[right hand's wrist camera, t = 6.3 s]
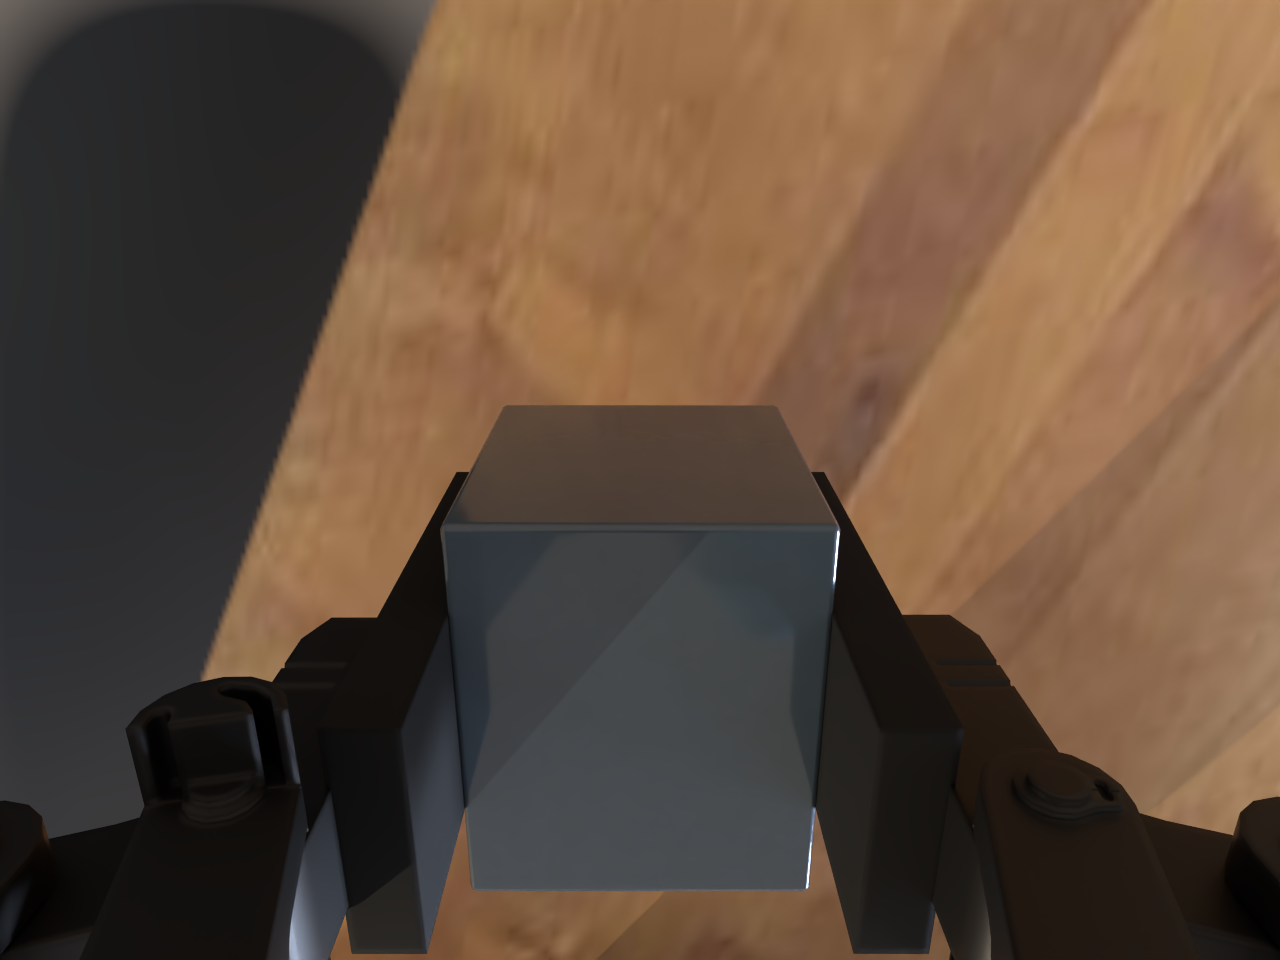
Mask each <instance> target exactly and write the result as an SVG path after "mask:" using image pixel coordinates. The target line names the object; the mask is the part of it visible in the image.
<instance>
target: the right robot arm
mask: <svg viewBox="0 0 1280 960" xmlns="http://www.w3.org/2000/svg"><path fill="white" fill-rule="evenodd" d="M811 473H812V475H813V477H814V479H815V480H816V482H817V484H818V486H819V488H820V490H821V492H822V494H823V496H824V498H825V500H826V502H827V503H828V505H829V507H830V509H831V511H832V513H833V515H834V517H835V519H836V521H837V523H838V525H839V527H840V539H839V551H838V562H837V573H836V585H835V596H834V608H833V612H832V623H831V635H830V646H829V658H828V669H827V681H826V692H825V704H824V715H823V727H822V738H821V750H820V761H819V773H818V784H817V796H816V811H817V815H818V819H819V822H820V826H821V830H822V834H823V838H824V842H825V845H826V849H827V853H828V857H829V861H830V865H831V868H832V872H833V876H834V880H835V884H836V888H837V892H838V895H839V899H840V903H841V907H842V911H843V915H844V918H845V922H846V926H847V930H848V934H849V938H850V941H851V945H852V949H853V953H854V954H929V949H930V943H931V937H932V930H933V924H934V918H935V911H936V913H937V916H938V918H939V921H940V924H941V926H942V929H943V932H944V934H945V937H946V939H947V942H948V945H949V947H950V950H951V952H950V958H949V960H1280V797H1273V798H1268V799H1262V800H1257V801H1253V802H1252V803H1251V804H1249V805H1248V806H1247V807H1246V808H1245V809H1244V810H1243V811H1242V812H1240V815H1239V818H1238V821H1237V825H1236V828H1235V831H1234V835H1229V834H1224V833H1220V832H1215V831H1210V830H1206V829H1201V828H1197V827H1192V826H1187V825H1183V824H1178V823H1174V822H1169V821H1165V820H1161V819H1158V818H1154V817H1151V816H1147V815H1144V814H1140V813H1139V812H1138V809H1137V807H1136V805H1135V803H1134V802H1133V800H1132V799H1131V798H1130V796H1129V795H1128V793H1127V792H1126V791H1125V789H1124V788H1123V786H1122V785H1121V784H1119V783H1118V782H1117V781H1115V780H1114V779H1113V778H1111V777H1110V776H1109V775H1108V774H1106V773H1105V772H1104V771H1102V770H1101V769H1100V768H1098V767H1096V766H1094V765H1091V764H1089V763H1087V762H1085V761H1083V760H1080V759H1078V758H1076V757H1074V756H1072V755H1068V754H1064V753H1060V752H1058V750H1057V749H1056V747H1055V746H1054V744H1053V743H1052V742H1051V740H1050V739H1049V737H1048V736H1047V734H1046V733H1045V731H1044V730H1043V728H1042V727H1041V725H1040V724H1039V722H1038V721H1037V719H1036V718H1035V717H1034V715H1033V714H1032V712H1031V711H1030V709H1029V708H1028V706H1027V705H1026V703H1025V702H1024V700H1023V699H1022V697H1021V696H1020V694H1019V693H1018V692H1017V690H1016V689H1015V687H1014V686H1011V685H1010V680H1009V678H1008V677H1007V675H1006V674H1005V672H1004V671H1003V669H1002V668H1001V667H1000V665H997V664H996V659H995V658H994V656H993V655H992V653H991V652H990V650H989V649H988V647H987V646H986V644H985V643H984V641H983V640H982V639H981V637H980V636H979V635H978V634H976V633H975V632H973V631H972V630H970V629H969V628H968V627H966V626H965V625H963V624H962V623H960V622H959V621H957V620H956V619H955V618H953V617H952V616H950V615H902V614H901V612H900V610H899V608H898V607H897V605H896V603H895V601H894V599H893V597H892V596H891V594H890V592H889V590H888V588H887V586H886V585H885V583H884V581H883V579H882V577H881V575H880V574H879V572H878V570H877V568H876V566H875V565H874V563H873V561H872V559H871V557H870V555H869V554H868V552H867V550H866V548H865V546H864V544H863V543H862V541H861V539H860V537H859V535H858V533H857V532H856V530H855V528H854V526H853V524H852V522H851V521H850V519H849V517H848V515H847V513H846V511H845V510H844V508H843V506H842V504H841V502H840V501H839V499H838V497H837V495H836V493H835V491H834V490H833V488H832V486H831V484H830V482H829V480H828V479H827V477H826V475H825V473H824V472H811ZM468 474H469V472H456V474H455V476H454V478H453V480H452V482H451V483H450V485H449V487H448V489H447V491H446V493H445V494H444V496H443V498H442V500H441V502H440V503H439V505H438V507H437V509H436V511H435V513H434V514H433V516H432V518H431V520H430V522H429V524H428V525H427V527H426V529H425V531H424V533H423V535H422V536H421V538H420V540H419V542H418V544H417V546H416V547H415V549H414V551H413V553H412V555H411V557H410V558H409V560H408V562H407V564H406V566H405V568H404V569H403V571H402V573H401V575H400V577H399V578H398V580H397V582H396V584H395V586H394V588H393V589H392V591H391V593H390V595H389V597H388V599H387V600H386V602H385V604H384V606H383V608H382V610H381V611H380V613H379V615H378V617H377V618H331V619H329V620H328V621H326V622H325V623H323V624H322V625H320V626H319V627H318V628H316V629H315V630H313V631H312V632H310V633H309V634H308V635H306V636H305V637H303V638H302V639H301V640H300V642H299V643H298V645H297V646H296V648H295V649H294V651H293V652H292V653H291V655H290V656H289V658H288V659H287V661H286V662H285V668H281V670H280V671H279V673H278V674H277V676H276V677H275V679H274V680H273V682H270V681H266V680H262V679H258V678H254V677H222V678H217V679H212V680H207V681H203V682H198V683H193V684H191V685H188V686H186V687H183V688H181V689H178V690H176V691H173V692H171V693H169V694H166V695H164V696H162V697H161V698H159V699H158V700H156V701H155V702H153V703H152V704H150V705H149V706H147V707H146V708H144V709H143V710H141V711H140V712H139V713H138V714H137V716H136V717H135V718H134V719H133V720H132V722H131V723H130V724H129V725H128V727H127V728H126V733H127V737H128V741H129V745H130V749H131V753H132V757H133V761H134V765H135V769H136V773H137V777H138V781H139V785H140V789H141V793H142V797H143V801H144V805H145V806H144V809H143V811H142V813H141V816H140V818H136V819H133V820H129V821H126V822H122V823H119V824H115V825H111V826H106V827H102V828H97V829H92V830H88V831H83V832H79V833H74V834H70V835H65V836H61V837H56V838H51V839H48V835H47V832H46V829H45V825H44V822H43V819H42V816H41V815H39V814H38V813H37V812H36V811H35V810H34V809H33V808H31V807H30V806H29V805H26V804H21V803H15V802H9V801H0V960H331V958H330V954H331V951H332V948H333V946H334V943H335V940H336V938H337V935H338V933H339V930H340V927H341V925H342V922H343V919H344V917H345V914H346V920H347V926H348V933H349V939H350V945H351V952H352V954H427V951H428V948H429V944H430V940H431V936H432V932H433V928H434V925H435V921H436V917H437V913H438V909H439V905H440V901H441V898H442V894H443V890H444V886H445V882H446V878H447V875H448V871H449V867H450V863H451V859H452V855H453V852H454V848H455V844H456V840H457V836H458V832H459V829H460V825H461V821H462V817H463V813H464V809H465V803H464V791H463V780H462V768H461V756H460V745H459V733H458V721H457V710H456V698H455V686H454V675H453V663H452V651H451V640H450V628H449V616H448V610H447V600H446V589H445V577H444V565H443V554H442V542H441V530H440V529H441V526H442V524H443V522H444V520H445V518H446V516H447V514H448V512H449V510H450V508H451V506H452V505H453V503H454V501H455V499H456V497H457V495H458V493H459V491H460V489H461V487H462V485H463V483H464V482H465V480H466V478H467V476H468Z"/></svg>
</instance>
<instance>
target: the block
mask: <svg viewBox="0 0 1280 960" xmlns="http://www.w3.org/2000/svg"><path fill="white" fill-rule="evenodd" d="M440 530H441V542H442V554H443V565H444V577H445V589H446V600H447V610H448V616H449V628H450V640H451V651H452V663H453V675H454V686H455V698H456V710H457V721H458V733H459V745H460V756H461V768H462V780H463V791H464V803H465V809H464V811H465V823H466V835H467V846H468V858H469V870H470V881H471V886H472V888H473V890H476V891H805V890H807V889H808V886H809V881H810V870H811V858H812V847H813V836H814V824H815V813H816V796H817V784H818V773H819V761H820V750H821V738H822V727H823V715H824V704H825V692H826V681H827V669H828V658H829V646H830V635H831V623H832V612H833V608H834V596H835V585H836V573H837V562H838V551H839V539H840V527H839V525H838V523H837V521H836V519H835V517H834V515H833V513H832V511H831V509H830V507H829V505H828V503H827V502H826V500H825V498H824V496H823V494H822V492H821V490H820V488H819V486H818V484H817V482H816V480H815V479H814V477H813V475H812V473H811V471H810V469H809V467H808V465H807V463H806V461H805V459H804V457H803V455H802V454H801V452H800V450H799V448H798V446H797V444H796V442H795V440H794V438H793V436H792V434H791V432H790V431H789V429H788V427H787V425H786V423H785V421H784V419H783V417H782V415H781V413H780V411H779V409H778V408H777V407H776V406H640V405H507V406H504V407H503V408H502V410H501V412H500V414H499V416H498V418H497V420H496V422H495V424H494V426H493V428H492V430H491V432H490V433H489V435H488V437H487V439H486V441H485V443H484V445H483V447H482V449H481V451H480V453H479V455H478V457H477V458H476V460H475V462H474V464H473V466H472V468H471V470H470V472H469V474H468V476H467V478H466V480H465V482H464V483H463V485H462V487H461V489H460V491H459V493H458V495H457V497H456V499H455V501H454V503H453V505H452V506H451V508H450V510H449V512H448V514H447V516H446V518H445V520H444V522H443V524H442V526H441V529H440Z"/></svg>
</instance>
